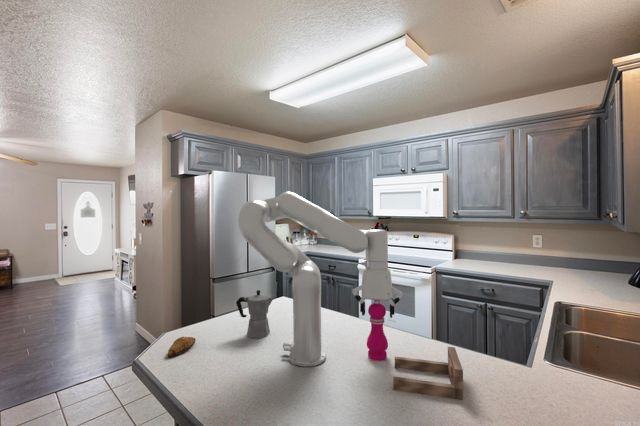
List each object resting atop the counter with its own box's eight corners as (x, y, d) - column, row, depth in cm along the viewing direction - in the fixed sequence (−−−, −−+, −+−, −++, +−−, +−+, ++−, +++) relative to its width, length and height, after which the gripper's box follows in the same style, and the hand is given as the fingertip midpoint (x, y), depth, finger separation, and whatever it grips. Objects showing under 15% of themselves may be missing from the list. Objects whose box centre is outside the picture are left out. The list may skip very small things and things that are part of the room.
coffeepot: (273, 328, 131) (273, 286, 131) (275, 337, 122) (275, 292, 122) (237, 331, 128) (236, 288, 128) (235, 340, 118) (235, 294, 118)
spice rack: (392, 389, 85) (392, 361, 85) (394, 365, 98) (394, 340, 98) (463, 400, 80) (462, 369, 80) (454, 373, 93) (454, 347, 93)
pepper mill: (388, 363, 100) (387, 302, 100) (366, 361, 101) (365, 301, 101) (387, 353, 107) (387, 296, 107) (367, 351, 108) (366, 295, 108)
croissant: (177, 360, 103) (177, 345, 103) (160, 357, 105) (160, 343, 105) (202, 343, 116) (202, 330, 116) (187, 341, 118) (186, 328, 118)
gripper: (349, 266, 103) (350, 316, 103) (402, 268, 98) (403, 321, 98) (353, 262, 110) (354, 310, 110) (402, 264, 105) (403, 314, 105)
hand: (377, 315), depth 104 cm, fingers open, 9 cm apart
